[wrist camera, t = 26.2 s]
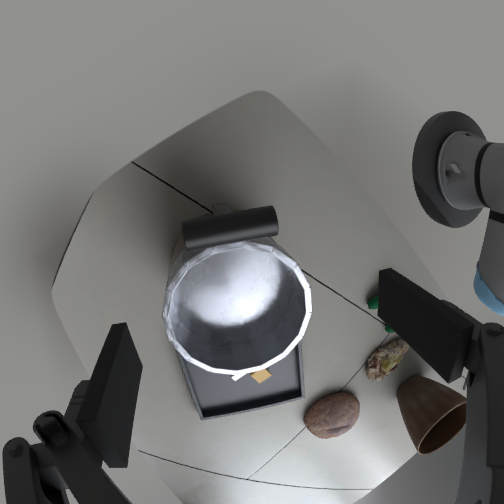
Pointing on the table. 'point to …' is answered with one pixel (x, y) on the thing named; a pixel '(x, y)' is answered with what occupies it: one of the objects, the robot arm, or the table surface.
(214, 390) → the tray
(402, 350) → the mineral rock
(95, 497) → the robot arm
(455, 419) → the flower pot
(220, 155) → the table surface
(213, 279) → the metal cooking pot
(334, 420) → the decorative stone
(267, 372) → the brass key
